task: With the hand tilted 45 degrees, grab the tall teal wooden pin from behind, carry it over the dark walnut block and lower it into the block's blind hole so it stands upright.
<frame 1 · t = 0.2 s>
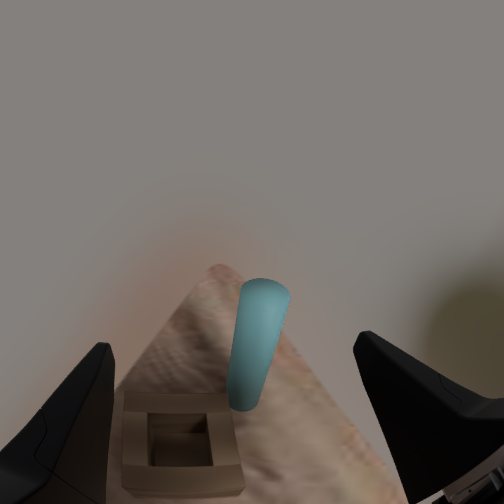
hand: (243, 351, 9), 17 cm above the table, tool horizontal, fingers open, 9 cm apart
teal pin: (241, 397, 25), on the table
walnut hole block: (181, 457, 18), on the table
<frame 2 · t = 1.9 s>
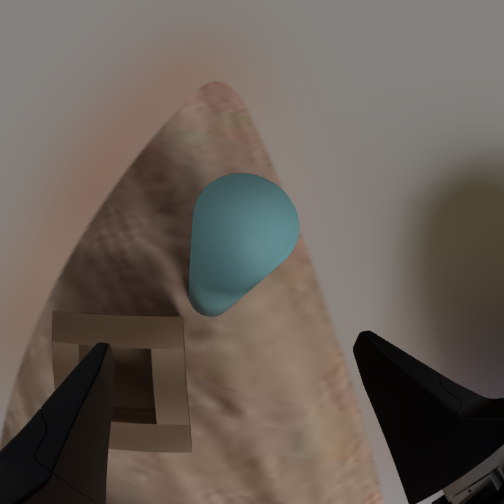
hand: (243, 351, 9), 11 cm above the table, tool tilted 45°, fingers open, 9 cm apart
teal pin: (210, 294, 20), on the table
walnut hole block: (130, 377, 17), on the table
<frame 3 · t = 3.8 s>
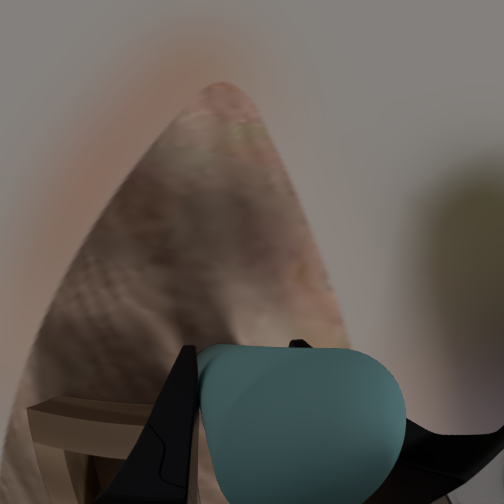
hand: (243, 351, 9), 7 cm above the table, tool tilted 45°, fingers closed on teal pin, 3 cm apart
teal pin: (221, 370, 15), on the table, touching gripper
walnut hole block: (129, 461, 12), on the table
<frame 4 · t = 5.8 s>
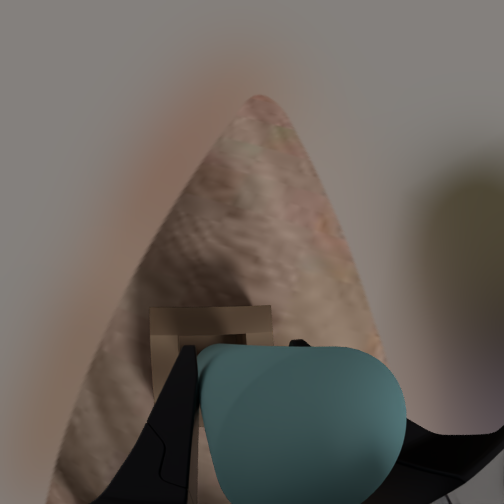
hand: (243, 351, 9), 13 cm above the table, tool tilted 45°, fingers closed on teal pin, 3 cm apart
teal pin: (221, 370, 15), point 6 cm above the table, touching gripper
walnut hole block: (208, 362, 21), on the table
when the fingers open (9 cm above the table, at t = 7.8 s): teal pin drops 1 cm, resting on walnut hole block.
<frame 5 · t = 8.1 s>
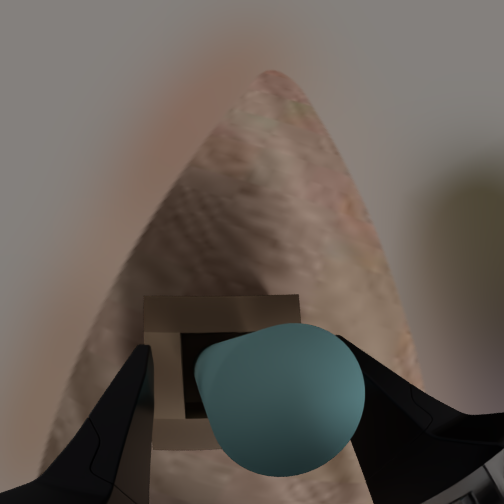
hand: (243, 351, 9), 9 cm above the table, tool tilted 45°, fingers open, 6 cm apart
teal pin: (218, 368, 17), point 1 cm above the table, touching walnut hole block
walnut hole block: (217, 367, 17), on the table
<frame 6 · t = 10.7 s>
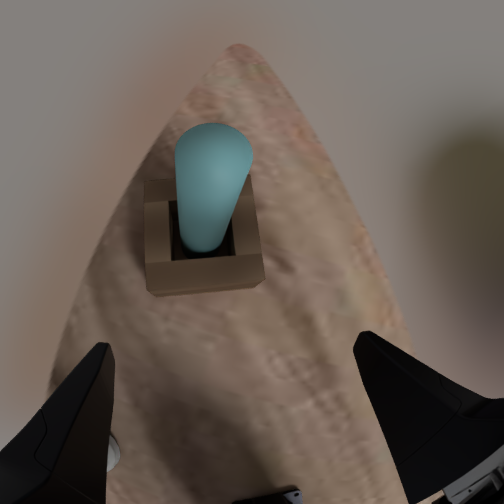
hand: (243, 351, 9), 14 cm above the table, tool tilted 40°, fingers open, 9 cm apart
teal pin: (200, 243, 23), point 1 cm above the table, touching walnut hole block
rook chess piece: (98, 445, 18), on the table
walnut hole block: (200, 245, 24), on the table
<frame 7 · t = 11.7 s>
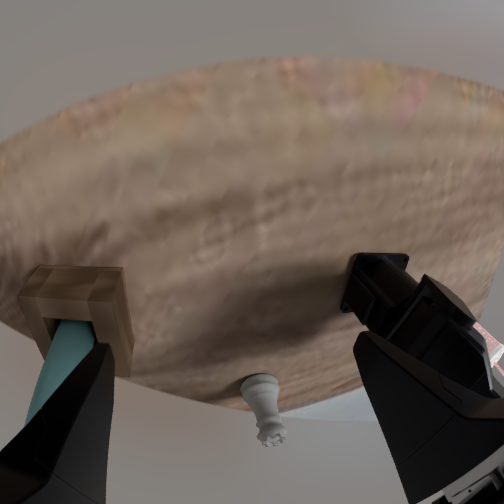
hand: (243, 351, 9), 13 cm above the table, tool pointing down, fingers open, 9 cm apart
beverage cup: (463, 327, 38), on the table
teal pin: (85, 309, 21), point 1 cm above the table, touching walnut hole block
rook chess piece: (258, 382, 31), on the table
walnut hole block: (86, 305, 22), on the table
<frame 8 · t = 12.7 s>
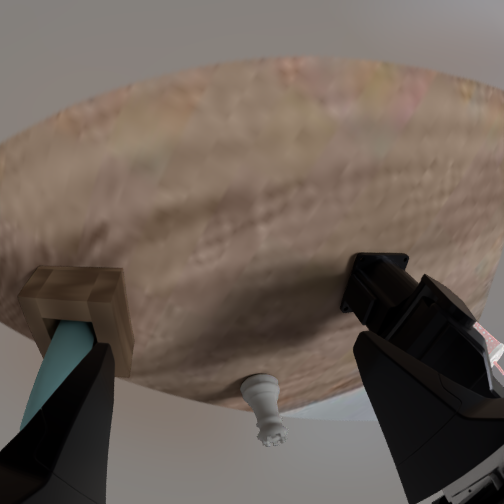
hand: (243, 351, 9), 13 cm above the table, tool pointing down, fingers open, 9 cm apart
beverage cup: (463, 327, 38), on the table
teal pin: (85, 309, 21), point 1 cm above the table, touching walnut hole block
rook chess piece: (258, 382, 31), on the table
walnut hole block: (86, 306, 22), on the table
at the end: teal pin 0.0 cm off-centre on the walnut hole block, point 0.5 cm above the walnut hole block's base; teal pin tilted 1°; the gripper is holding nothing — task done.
